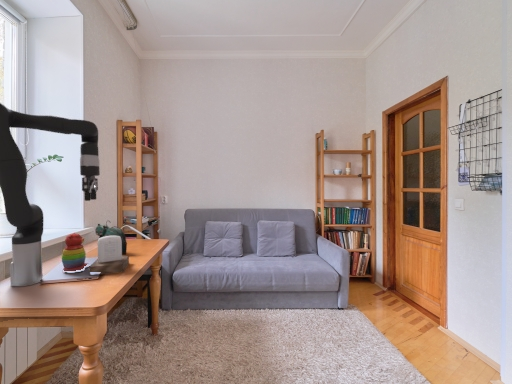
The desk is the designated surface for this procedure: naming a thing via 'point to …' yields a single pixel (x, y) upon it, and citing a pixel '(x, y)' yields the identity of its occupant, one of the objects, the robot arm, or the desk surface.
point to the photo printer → (109, 249)
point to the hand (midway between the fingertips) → (90, 200)
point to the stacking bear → (73, 253)
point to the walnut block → (110, 266)
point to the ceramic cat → (112, 234)
